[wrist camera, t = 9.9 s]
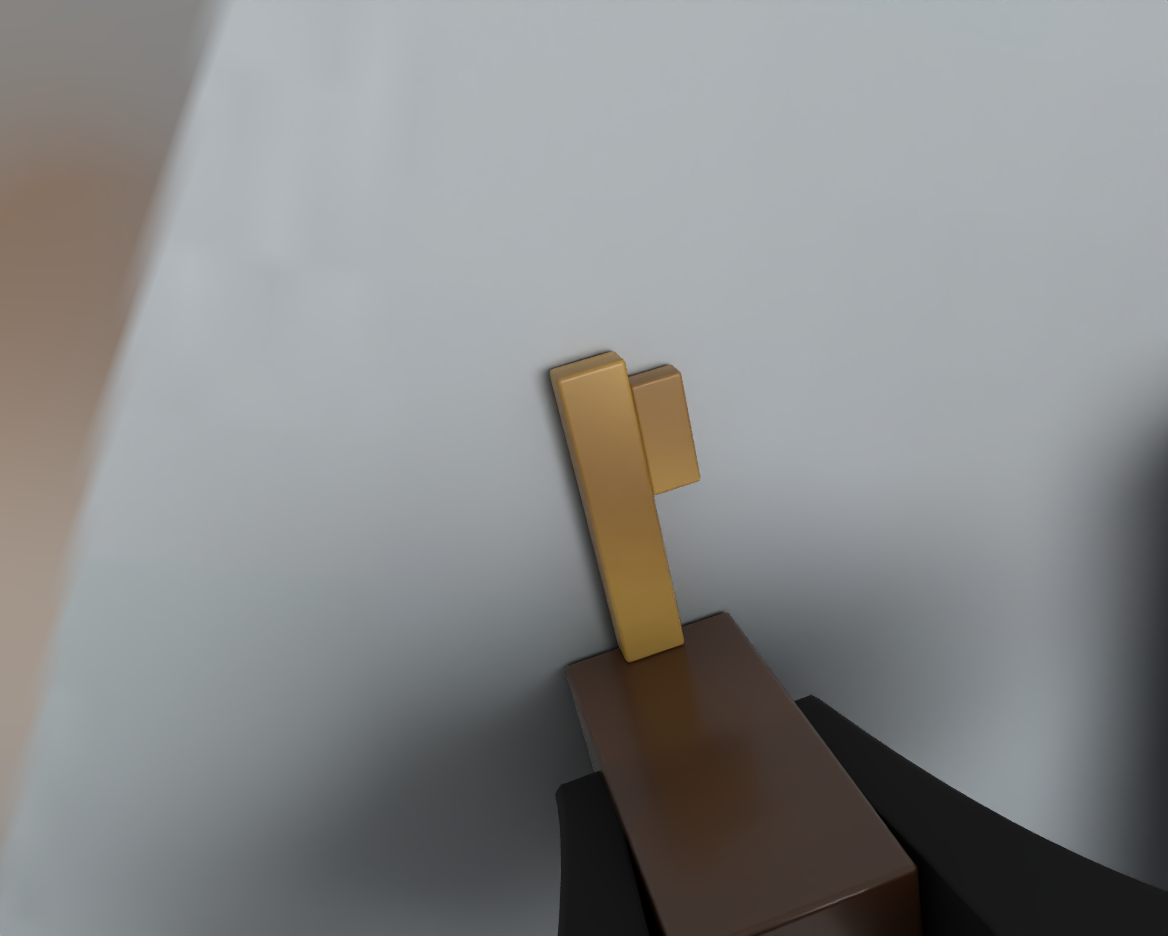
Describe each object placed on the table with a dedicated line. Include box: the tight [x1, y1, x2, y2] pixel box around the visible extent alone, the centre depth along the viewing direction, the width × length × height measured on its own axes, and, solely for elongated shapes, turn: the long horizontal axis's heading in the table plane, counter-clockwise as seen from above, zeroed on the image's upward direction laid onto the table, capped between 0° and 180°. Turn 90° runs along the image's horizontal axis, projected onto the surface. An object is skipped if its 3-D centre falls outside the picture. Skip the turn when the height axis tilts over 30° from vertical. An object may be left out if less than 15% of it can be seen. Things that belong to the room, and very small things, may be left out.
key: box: [550, 352, 923, 936], centre depth 11 cm, size 8×3×5 cm, turn 13°
